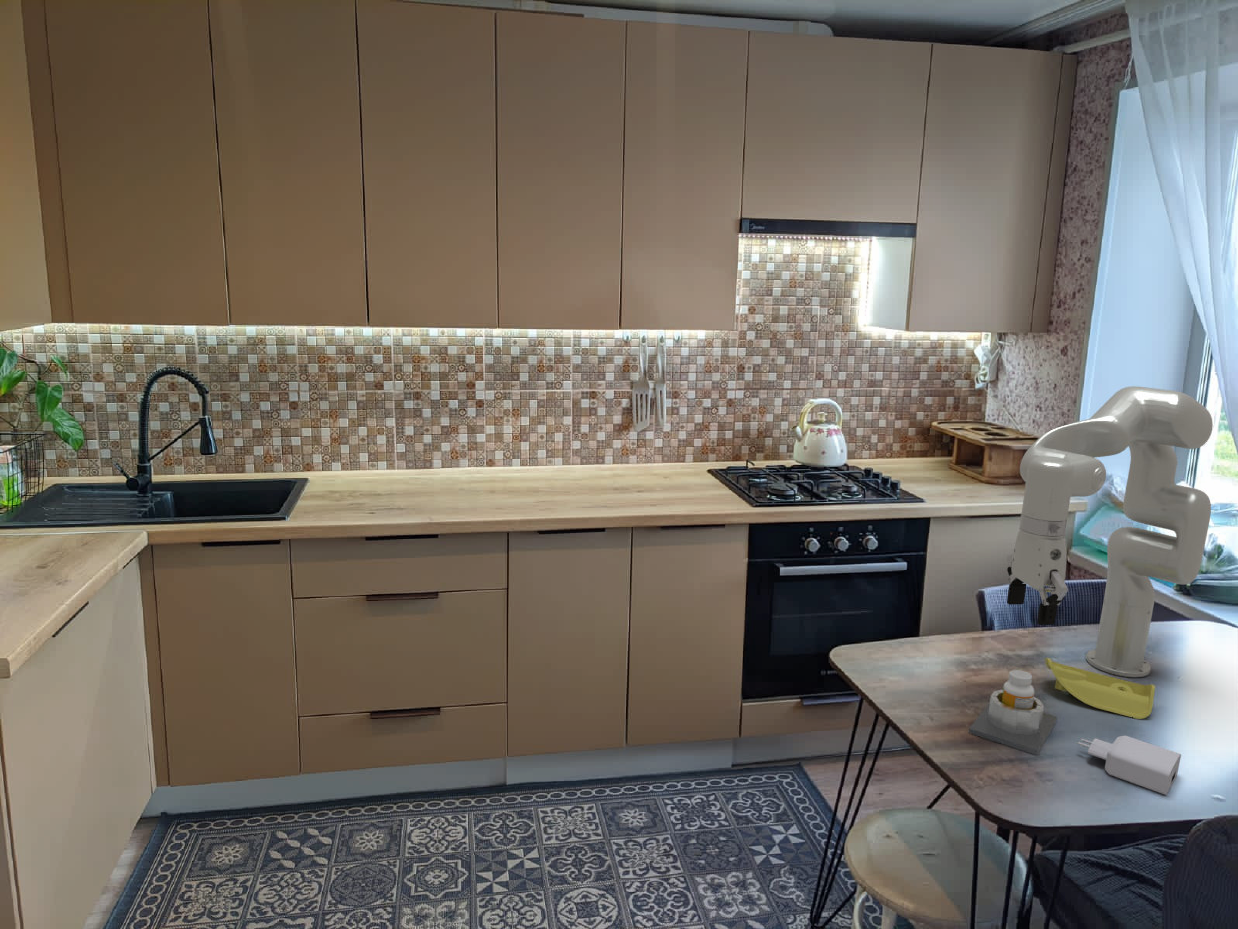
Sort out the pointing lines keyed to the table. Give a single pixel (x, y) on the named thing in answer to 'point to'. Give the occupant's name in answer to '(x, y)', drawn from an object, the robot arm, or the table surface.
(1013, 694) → the supplement bottle
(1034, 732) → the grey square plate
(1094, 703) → the plastic component
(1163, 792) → the charger
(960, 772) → the table surface
